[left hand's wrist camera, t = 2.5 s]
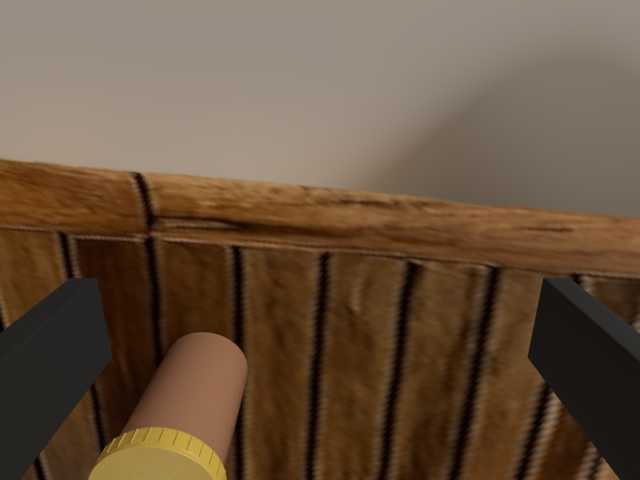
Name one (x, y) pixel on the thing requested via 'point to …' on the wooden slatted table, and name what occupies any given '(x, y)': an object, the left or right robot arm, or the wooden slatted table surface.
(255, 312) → the wooden slatted table surface
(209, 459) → the lid
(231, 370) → the jar
